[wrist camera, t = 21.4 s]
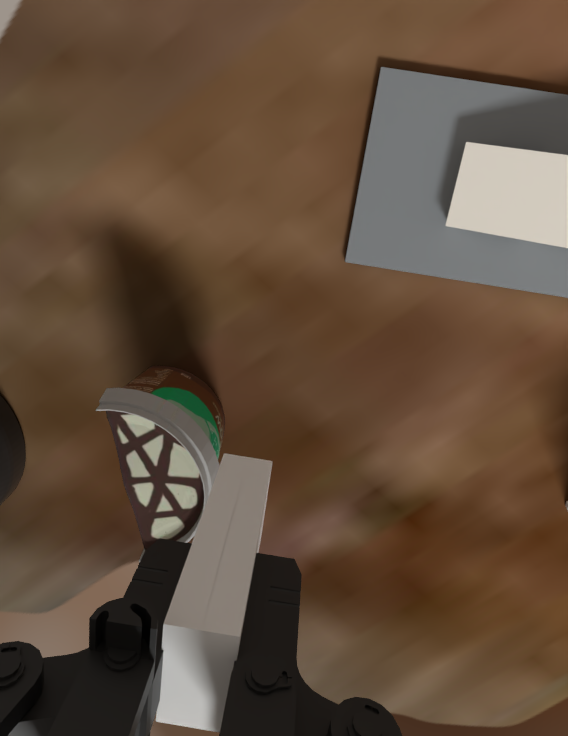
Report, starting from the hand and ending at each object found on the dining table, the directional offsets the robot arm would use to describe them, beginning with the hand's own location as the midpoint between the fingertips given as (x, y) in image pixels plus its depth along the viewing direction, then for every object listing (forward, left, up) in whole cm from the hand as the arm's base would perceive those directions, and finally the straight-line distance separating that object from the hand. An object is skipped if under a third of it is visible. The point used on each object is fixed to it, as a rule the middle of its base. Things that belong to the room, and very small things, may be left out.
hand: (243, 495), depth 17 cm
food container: (-6, -10, -24) cm, 27 cm away
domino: (+9, +10, -23) cm, 26 cm away
